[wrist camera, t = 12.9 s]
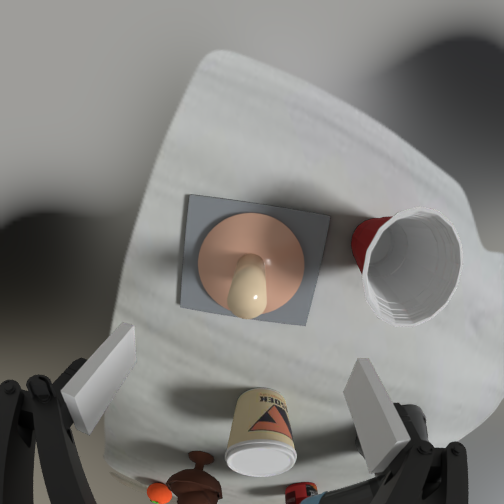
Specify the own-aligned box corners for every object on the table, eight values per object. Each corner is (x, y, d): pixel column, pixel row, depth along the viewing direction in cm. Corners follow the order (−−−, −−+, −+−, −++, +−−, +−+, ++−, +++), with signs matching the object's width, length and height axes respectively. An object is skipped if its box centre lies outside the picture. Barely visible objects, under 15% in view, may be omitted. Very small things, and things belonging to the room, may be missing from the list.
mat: (328, 215, 30) (330, 216, 30) (304, 322, 34) (305, 326, 33) (191, 194, 30) (189, 194, 30) (181, 304, 34) (180, 307, 33)
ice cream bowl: (166, 444, 43) (149, 500, 28) (217, 443, 42) (207, 506, 27) (188, 468, 45) (176, 518, 31) (234, 467, 44) (229, 522, 30)
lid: (312, 221, 30) (335, 241, 20) (291, 317, 33) (302, 366, 23) (205, 205, 30) (180, 217, 20) (196, 302, 33) (173, 347, 23)
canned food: (318, 488, 47) (323, 520, 37) (288, 494, 48) (290, 526, 38) (313, 479, 46) (318, 514, 35) (281, 485, 47) (282, 520, 36)
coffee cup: (302, 400, 38) (312, 459, 26) (263, 427, 40) (263, 482, 28) (257, 374, 36) (256, 438, 25) (220, 404, 38) (210, 463, 27)
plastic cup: (368, 177, 29) (423, 179, 18) (420, 236, 31) (478, 262, 19) (310, 246, 31) (338, 283, 20) (368, 297, 33) (409, 347, 21)
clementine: (164, 490, 51) (159, 508, 44) (144, 481, 50) (138, 499, 43) (178, 487, 49) (174, 507, 42) (157, 477, 48) (151, 497, 41)
